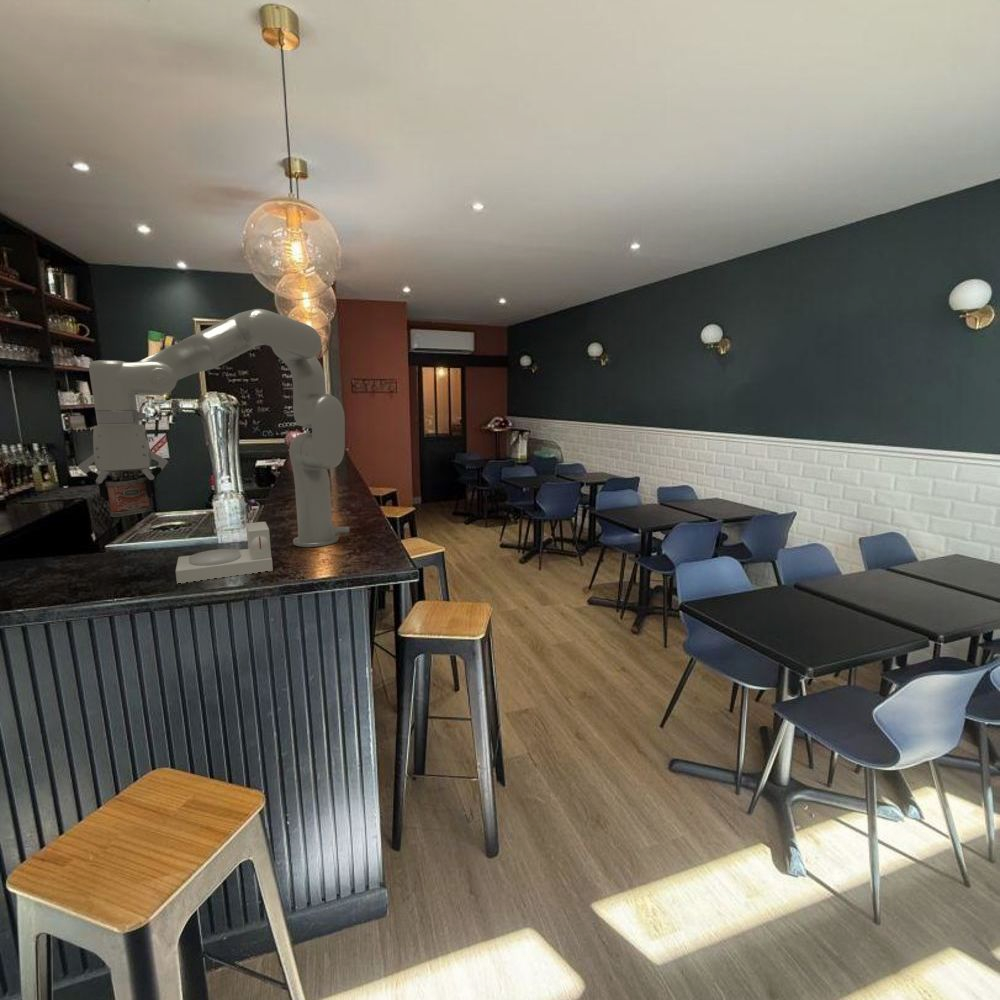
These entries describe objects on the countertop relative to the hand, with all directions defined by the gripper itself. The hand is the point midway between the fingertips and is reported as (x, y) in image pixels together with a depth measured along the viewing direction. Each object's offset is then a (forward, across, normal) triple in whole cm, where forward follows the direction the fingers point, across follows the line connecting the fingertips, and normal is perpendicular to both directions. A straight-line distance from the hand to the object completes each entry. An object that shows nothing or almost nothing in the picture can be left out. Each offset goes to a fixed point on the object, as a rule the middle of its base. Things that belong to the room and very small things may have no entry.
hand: (129, 498), depth 120 cm
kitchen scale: (+19, -18, +1) cm, 26 cm away
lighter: (+4, 0, 0) cm, 4 cm away
